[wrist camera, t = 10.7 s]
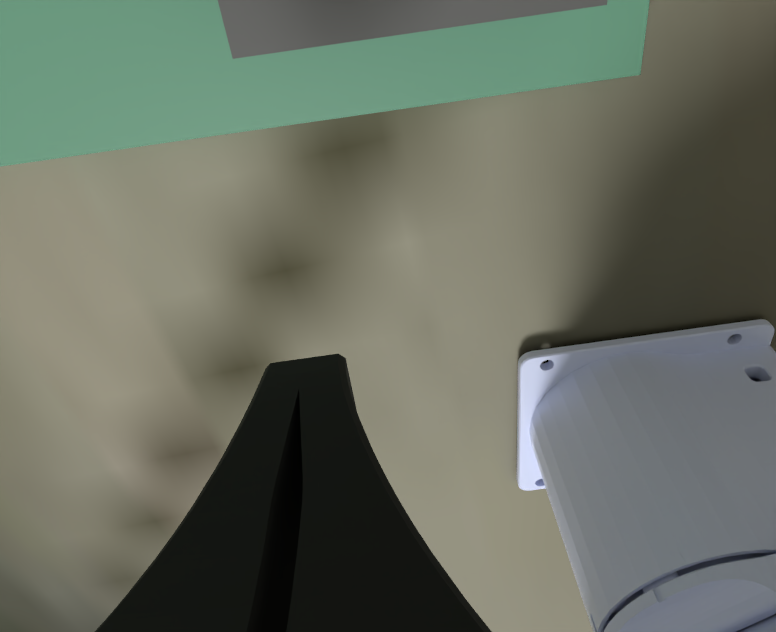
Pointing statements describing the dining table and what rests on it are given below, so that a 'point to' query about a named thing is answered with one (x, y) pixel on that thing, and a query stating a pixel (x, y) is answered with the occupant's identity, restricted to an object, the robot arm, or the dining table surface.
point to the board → (281, 63)
